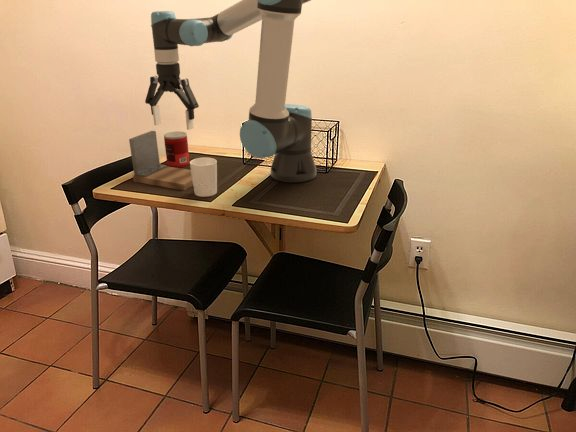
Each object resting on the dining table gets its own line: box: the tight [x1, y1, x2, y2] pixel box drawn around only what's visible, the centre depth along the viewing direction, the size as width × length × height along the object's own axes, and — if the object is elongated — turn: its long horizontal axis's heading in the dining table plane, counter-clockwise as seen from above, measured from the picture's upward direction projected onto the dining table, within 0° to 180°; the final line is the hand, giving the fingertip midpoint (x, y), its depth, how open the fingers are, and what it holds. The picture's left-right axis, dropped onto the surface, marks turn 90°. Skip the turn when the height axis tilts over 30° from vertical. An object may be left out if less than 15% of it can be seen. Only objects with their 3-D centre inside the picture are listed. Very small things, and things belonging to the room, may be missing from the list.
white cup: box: [189, 157, 218, 198], centre depth 149 cm, size 8×8×10 cm
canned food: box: [163, 131, 190, 169], centre depth 173 cm, size 8×8×11 cm
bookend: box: [128, 130, 168, 177], centre depth 161 cm, size 5×11×12 cm, turn 155°
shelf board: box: [132, 165, 194, 191], centre depth 161 cm, size 20×12×2 cm, turn 65°
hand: (173, 126), depth 170 cm, fingers open, 13 cm apart
